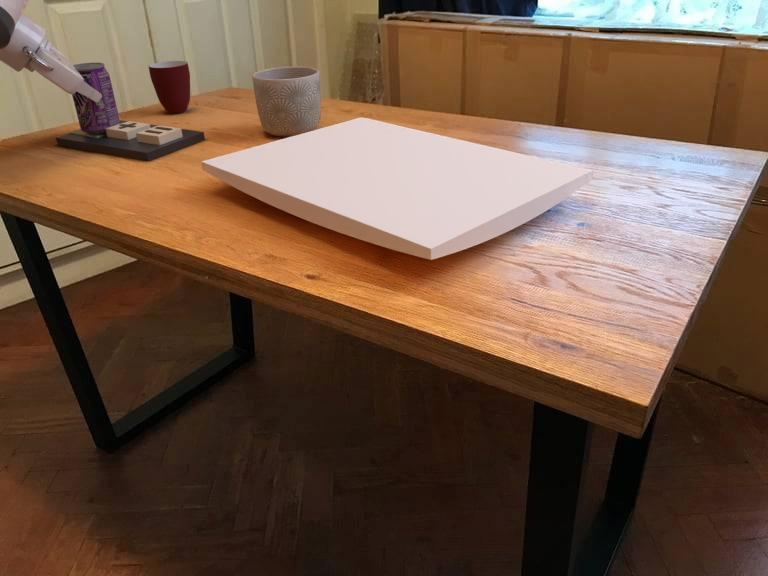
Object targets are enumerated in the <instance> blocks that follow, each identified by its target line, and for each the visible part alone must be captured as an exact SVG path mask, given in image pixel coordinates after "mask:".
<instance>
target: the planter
mask: <svg viewBox="0 0 768 576" xmlns="http://www.w3.org/2000/svg"><path fill="white" fill-rule="evenodd" d="M320 73H321V72H320V69H318V68H315V67H311V66H278V67H271V68H270V67H269V68H266V69H265V68H264V69H261V70H258V71H255V72H253V73H252V74H251V77H252V78H251V79H252V85H253V91H254V92H253V93H254V98H255V104H256V108H257V114H258V118H259V122H260V126H261V127H262V129H263V131H265V132H266V133H268V134H270V135H271V136H276V137H282V138H288V137H292V136H295V135H299V134H303V133H306V132H310V131H314V130H317V129H318V128H319V125H320V124H321V115H322V98H321V97H322V96H321V75H320Z"/></svg>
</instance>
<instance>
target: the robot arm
mask: <svg viewBox="0 0 768 576" xmlns="http://www.w3.org/2000/svg"><path fill="white" fill-rule="evenodd" d="M29 1H30V0H0V62H1V63H4V64H5V65H6V66H8V67H9V68H11V69H12V70H13V71H16V72H18V73H20V72H21V71H22V70H23V69H26V70H28V71H29V72H31V73H34V72H36V73H38V74H39V75H41V76H42V77H43V78H44V79H46V80H47V81H49V82H51V83H52V84H54V85H55V86H56V87H58V88H59V89H61V90H63V91H64V92H66V93H67V94H69V95H71V96H72V95H73V94H75V92H76V91H77V92H79V93H80V94H82V95H84V96H86V97H88V98H90V99H91V100H93V101H94V102H99V100H100V99H101V98H102V95H101V93H100V92H98V91H97V90H95V89H94V88H92V87H91V86H90V85H88V84H87V83H86V82H84V79H83V77H82V76H81V74H80V73H79V72H78V71H77V70H76V69H75V67H74V66H73V65H74V64H73V62H72V60H70V59H69V58H68V57H67V56H66V55H64V54H63V53H62V52H61V51H60V50H59V49H57V48H56V47H55V46H54V45H53V43H52V42H51V41H50V40H49V39H48V38H46V35H47V29H46V28H44V27H43V26H42V25H40V24H39V23H37V22H35V20H33V19H31V18H30V17H29V16H27V15H26V14H24V11H25V10H26V7H27V4H28V2H29Z"/></svg>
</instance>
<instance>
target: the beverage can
mask: <svg viewBox="0 0 768 576" xmlns="http://www.w3.org/2000/svg"><path fill="white" fill-rule="evenodd" d="M73 66H74V67H75V69H76V70H77V71H78V72H79V73H80V74H81V76H82V77H83V79H84V82H86V83H87V84H88V85H90V86H91V87H92V88H94V89H95V90H97V91H98V92H100V93H101V95H102V98H101V99H100V100H99V102H94V101H93V100H91V99H90V98H88V97H86V96H84V95H82V94H80V93H79V92H77V91H76V92H75V94H73V95H72V94H71V96H72V100H73V104H74V108H75V112H76V117H77V119H78V123H79V129H81V131H83V132H86V133H88V134H92V135H101V134H107V133H106V128H109V127H112V126H115V125H118V124H120V120H121V119H120V116H119V111H118V107H117V101H116V98H115V93H114V89H113V84H112V80H111V75H110V73H109V71H108V70H107V69H106V67H105V66H106V65H105V63H104V62H84V63H83V62H82V63H77V64H73Z"/></svg>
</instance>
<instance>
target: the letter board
mask: <svg viewBox="0 0 768 576" xmlns="http://www.w3.org/2000/svg"><path fill="white" fill-rule="evenodd" d="M106 133H107V134H101V135H92V134H88V133H86V132H83V131H81V128H79V129H76V130H72V131H69V132H68V133H66V134H63V135H59V136H56V137H55V140H56V145H57V146H59V147H66V148H71V149H76V150H82V151H87V152H94V153H100V154H105V155H106V154H107V155H111V156H117V157H122V158H128V159H134V160H139V161H146V162H150V161H153V160H156V159H158V158H160V157H163V156H166V155H169V154H171V153H174V152H177V151H179V150H182V149H185V148H187V147H189V146H192V145H196V144H197V143H200V142H203V141H206V137H205V132H204V131H201V130H194V129H186V128H181V127H174V126H166V125H157V124H151V123H146V122H140V121H139V122H138V121H130V120H129V121H128V120H122V119H120V124H118V125H115V126H112V127H109V128H106Z"/></svg>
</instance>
